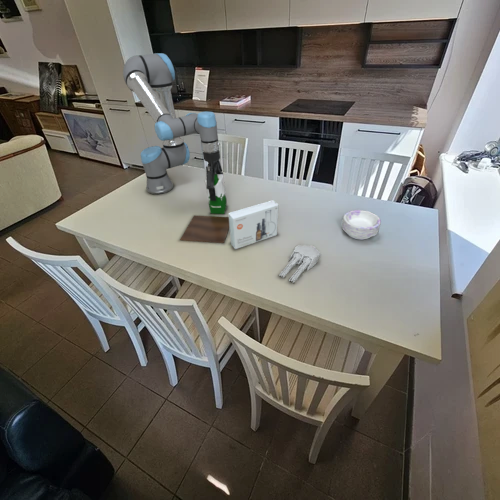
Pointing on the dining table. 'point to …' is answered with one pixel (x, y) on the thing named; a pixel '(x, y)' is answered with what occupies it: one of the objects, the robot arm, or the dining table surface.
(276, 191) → the dining table surface
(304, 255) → the turret
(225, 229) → the walnut board
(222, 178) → the soya milk
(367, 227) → the paper bowls
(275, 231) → the skincare box
